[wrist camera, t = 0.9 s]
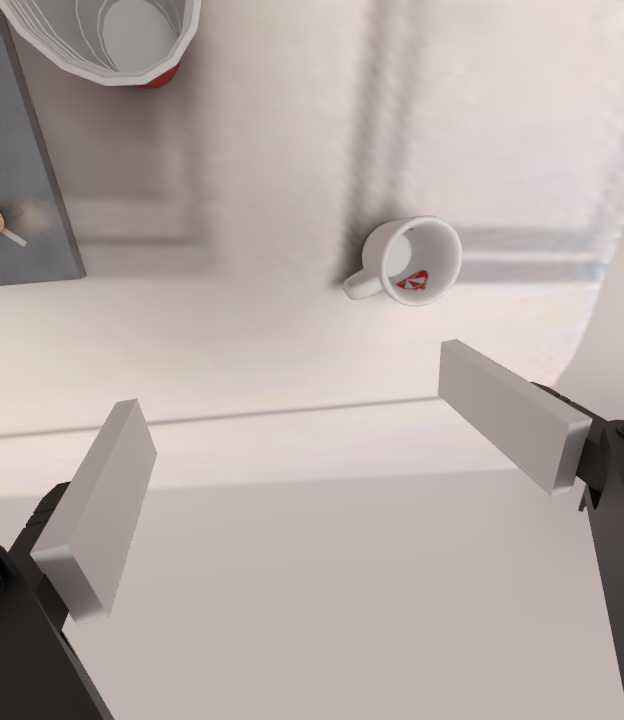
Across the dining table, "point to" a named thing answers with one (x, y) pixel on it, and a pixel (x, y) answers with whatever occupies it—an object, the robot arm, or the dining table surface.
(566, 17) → the dining table surface
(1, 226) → the metal measuring spoon
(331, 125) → the dining table surface
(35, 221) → the panel
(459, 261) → the cup
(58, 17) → the plastic cup
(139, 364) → the dining table surface
